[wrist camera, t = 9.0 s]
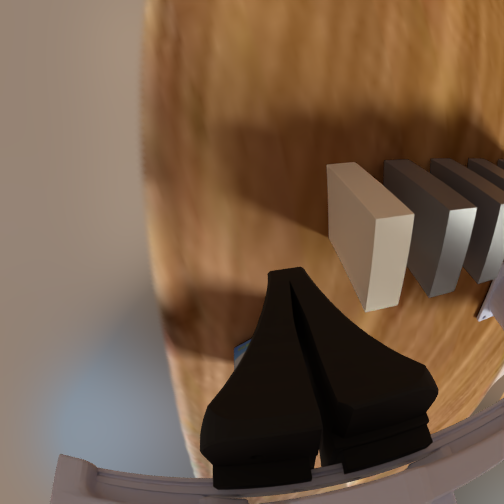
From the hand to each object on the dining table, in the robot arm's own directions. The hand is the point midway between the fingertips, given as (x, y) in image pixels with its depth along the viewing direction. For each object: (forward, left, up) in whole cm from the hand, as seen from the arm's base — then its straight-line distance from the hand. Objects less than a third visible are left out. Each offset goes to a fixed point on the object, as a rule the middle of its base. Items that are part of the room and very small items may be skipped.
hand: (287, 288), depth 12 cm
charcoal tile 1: (-8, 0, -7) cm, 11 cm away
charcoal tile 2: (-12, 0, -7) cm, 14 cm away
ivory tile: (-5, 0, -7) cm, 9 cm away
